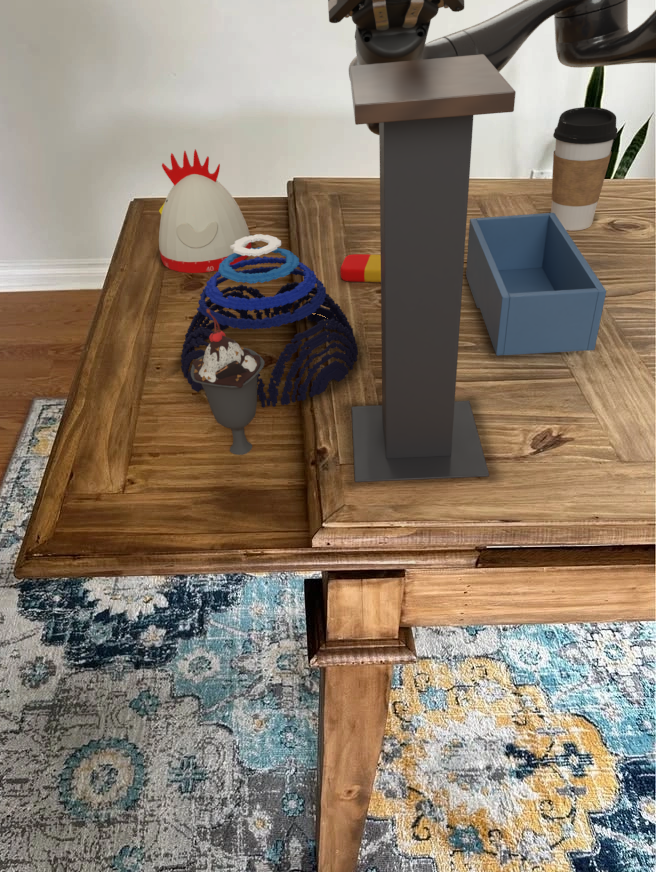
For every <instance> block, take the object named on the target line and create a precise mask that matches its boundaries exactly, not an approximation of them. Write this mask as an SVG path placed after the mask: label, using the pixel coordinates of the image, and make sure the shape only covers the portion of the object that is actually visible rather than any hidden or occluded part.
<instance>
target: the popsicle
mask: <svg viewBox="0 0 656 872" xmlns="http://www.w3.org/2000/svg"><path fill="white" fill-rule="evenodd" d="M339 272H340V278H341V280H343V281H344V282H350V283H352V282H353V283H357V282H359V283H381V254H369V253H368V254H367V253H362V254H360V253H354V254H353V253H351V254H348V255H347V256H345V257H344V259H343V261H342V264H341V266H340V271H339Z"/></svg>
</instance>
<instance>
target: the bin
mask: <svg viewBox="0 0 656 872" xmlns="http://www.w3.org/2000/svg"><path fill="white" fill-rule="evenodd" d="M467 239H468V240H467V253H466V254H467V256H466V268H465V269H466V271H465V277H466V280H467V283H468V285H469V289H470V291H471V294H472V298H473V300H474V304H475V306H476V308H477V309H479V310H480V313H481V316H482V319H483V323H484V324H485V327H486V330H487V334H488V335H489V339H490V341H491V345H492V347H493V350H494V353H495V356H514V355H515V356H516V355H530V354H534V355H535V354H551V353H567V352H583V351H584V352H586V351H595V350H596V344H597V339H598V335H599V330H600V326H601V319H602V315H603V310H604V305H605V300H606V295H607V290H606V288H605V287H604V285H603V284H602V282H601V281H600V280H599V278H598V276H597V274H596V272H594V270H593V269H592V267H591V265H590V264H589V262H588V261H587V259H586V258H585V257H584V255H583V254H582V252H581V251H580V249H579V247H578V246H577V244H576V243H575V242H574V240H573V239H572V237H571V236H570V233H568V230H565V228H564V227H563V225H562V224H561V222H560V221H559V219H558V218H557V216H556V215H555V213H551V212H543V213H541V212H540V213H531V214H530V213H529V214H528V213H527V214H514V215H513V214H512V215H500V216H499V215H498V216H485V217H474V218H473V217H472V218H469V223H468V238H467Z"/></svg>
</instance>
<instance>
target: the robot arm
mask: <svg viewBox="0 0 656 872" xmlns="http://www.w3.org/2000/svg"><path fill="white" fill-rule="evenodd" d="M628 5H629V4H628V0H522V1H520V2H517V3H516V4H514V5H512V6H510V7H509V8H507V9H505V10H503V11H501V12H500V13H498V14H496V15H494V16H492V17H490V18H488V19H485V20H483V21H482V22H479V23H477V24H474V25H472V26H471V25H470V26H469V27H465V28H463V29H461V30H458V31H455V32H452V33H450V34H447V35H443V36H442V37H441V36H440V37H438V38H435V39H433V40H431V41H428V42H426V41H427V36H428V33H429V29H430V26H431V22H432V20H433V18H436V16H437V15H438V13H439V9H441V8H444V9H450V10H451V11H452V12H453V13H457V12H461V11H463V10H464V9H465V0H327V9H328V11H327V12H328V22H329V23H331V24H338V23H341V22H342V21H343V19H344V18H346V19H347V18H350V17H351V21H352V22H353V24H355V31H354V40H355V53H356V56H355V57H354V58H352V60H351V61H350V62H349V64H348V65H349V66H348V77H349V81H350V83H351V79H350V66H356V65H367V64H379V63H390V62H402V61H413V60H424V59H436V58H447V57H458V56H470V55H481V54H484V55H485V56H486V58H487V59H488V60H489V61H490V62H491V64H492V65H493V66H494V67H495V68H496V69H497V71H498V72H499V73H501V71H502V70H503V69H504V68H505V67H506V66H507V64H508V63H510V61H511V60H512V58H513V57H514V56H515V55H516V53H517V52H518V51H519V50H520V48H521V47H522V46H523V45H524V43H525V42H526V41H527V40H528V38H530V37H531V35H532V34H533V33H534V32H535V31H536V30H537V29H538V28H539V27H540V26H541V25H542V24H543V23H544V22H546V21H547V20H549V19H550V18H551V17H553V16H554V17H553V20H554V21H553V22H554V41H555V53H556V56H557V61H559V63H560V64H561V65H563V66H565V67H567V68H568V67H569V68H596V67H597V68H598V67H607V66H619V65H631V64H656V9H655V10H654V11H653V12H652V13H651V14H650V15H649V16H648V17H647V18H646V19H645V20H644V21H643V22H642V23H641V24H639V25H638V26H637V27H636V28H634V29H633V30H631V31H630V30H629V24H628V19H629V18H628V17H629V13H628V11H629V9H628V7H629V6H628ZM365 125H366V126H367V129H368V130H369V131H370V132H372V133H373V134H374V135H376V136H379V123H371V124H365Z"/></svg>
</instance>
